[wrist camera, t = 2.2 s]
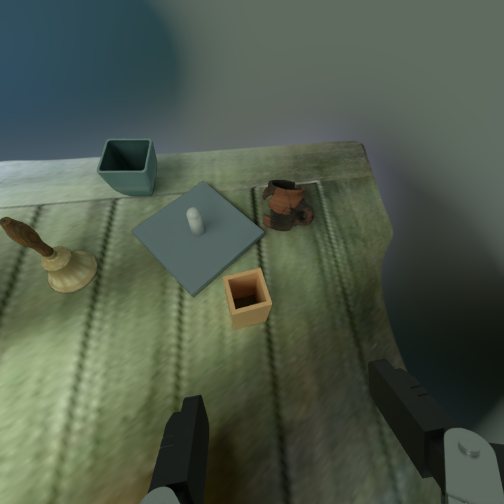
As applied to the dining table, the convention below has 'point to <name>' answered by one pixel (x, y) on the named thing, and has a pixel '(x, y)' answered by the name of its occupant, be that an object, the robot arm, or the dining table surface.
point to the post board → (198, 236)
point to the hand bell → (55, 258)
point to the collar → (244, 287)
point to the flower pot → (129, 166)
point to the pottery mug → (286, 205)
